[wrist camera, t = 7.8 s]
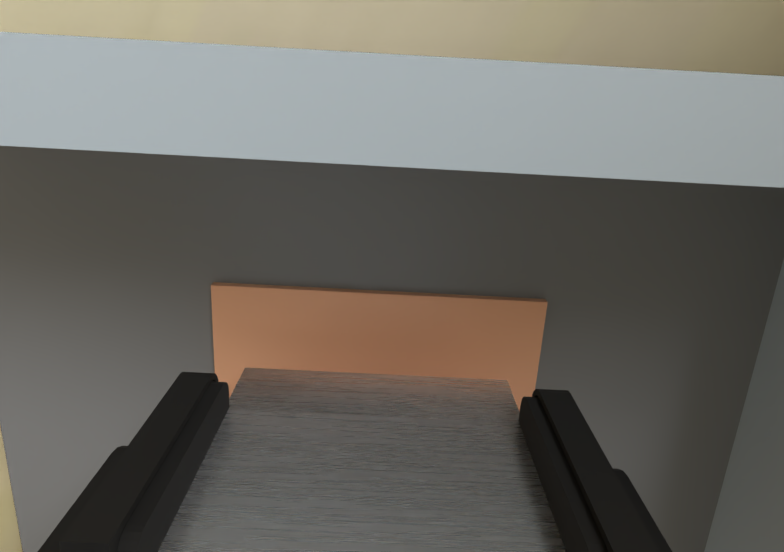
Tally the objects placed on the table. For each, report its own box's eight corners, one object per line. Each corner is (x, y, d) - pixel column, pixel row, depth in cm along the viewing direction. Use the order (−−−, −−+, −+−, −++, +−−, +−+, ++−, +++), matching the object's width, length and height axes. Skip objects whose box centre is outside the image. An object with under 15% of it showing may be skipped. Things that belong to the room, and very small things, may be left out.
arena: (853, 91, 12) (1254, 102, 7) (675, 718, 18) (807, 1016, 12) (-31, 42, 12) (-416, 8, 6) (72, 693, 18) (-81, 987, 12)
